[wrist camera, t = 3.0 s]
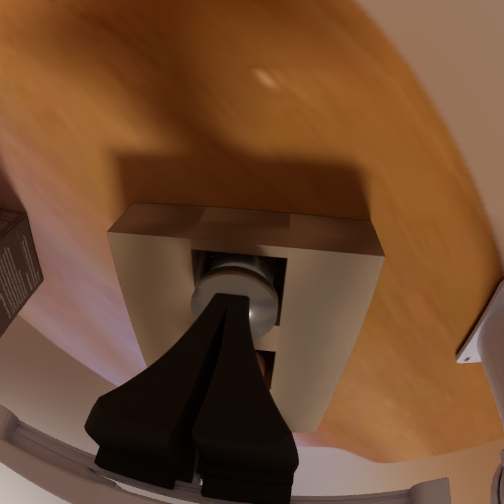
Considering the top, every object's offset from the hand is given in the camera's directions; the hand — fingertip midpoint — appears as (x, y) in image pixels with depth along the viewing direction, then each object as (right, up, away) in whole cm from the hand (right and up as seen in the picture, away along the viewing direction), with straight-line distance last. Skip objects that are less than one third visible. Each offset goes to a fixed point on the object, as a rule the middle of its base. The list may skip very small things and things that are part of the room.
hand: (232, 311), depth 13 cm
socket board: (0, -3, +7) cm, 7 cm away
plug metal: (+1, +2, +3) cm, 4 cm away
